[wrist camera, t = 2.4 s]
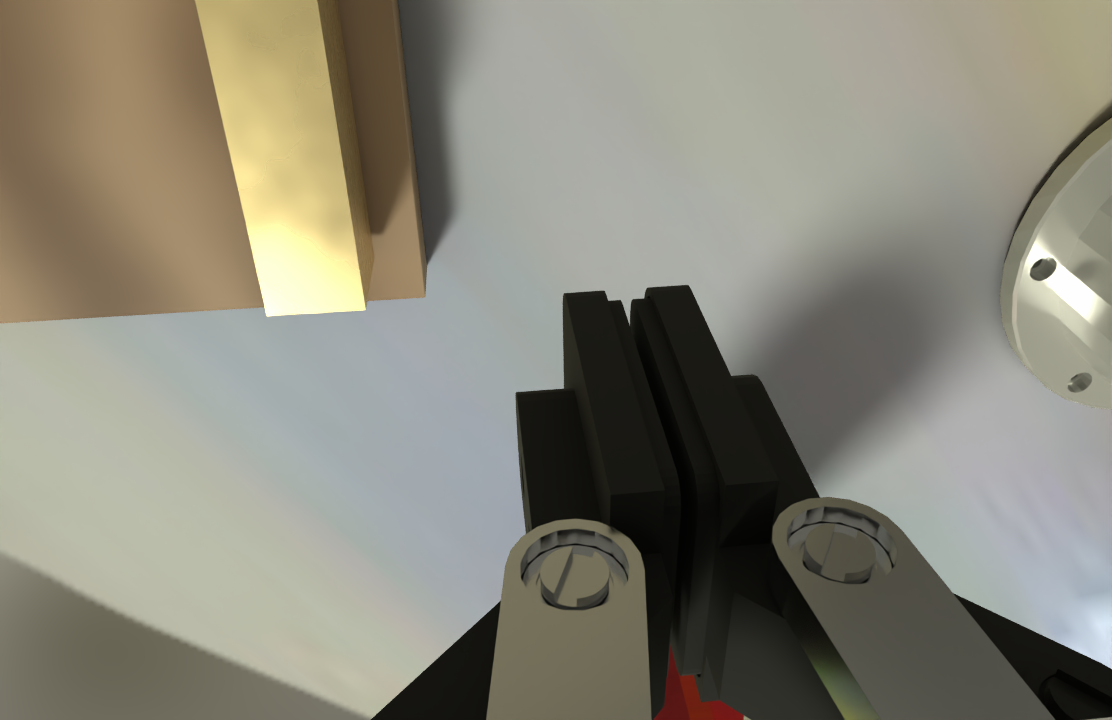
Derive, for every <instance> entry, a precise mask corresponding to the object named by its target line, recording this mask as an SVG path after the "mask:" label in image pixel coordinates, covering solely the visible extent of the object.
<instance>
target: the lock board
mask: <svg viewBox="0 0 1112 720" xmlns="http://www.w3.org/2000/svg"><path fill="white" fill-rule="evenodd" d="M337 1H338V8H339V15H340V22H341V28H342V35H343V42H344V49H345V56H346V63H347V70H348V77H349V84H350V91H351V98H352V104H353V111H354V118H355V125H356V132H357V139H358V146H359V153H360V160H361V167H362V174H363V180H364V187H365V194H366V201H367V208H368V215H369V222H370V229H371V236H372V243H373V250H374V256H375V257H374V263H373V269H372V275H371V281H370V287H369V293H368V299H367V301H374V300H391V299H407V298H423V297H425V291H426V274H427V262H426V253H425V244H424V235H423V226H422V217H421V208H420V198H419V189H418V180H417V171H416V162H415V153H414V144H413V135H412V126H411V116H410V107H409V98H408V89H407V80H406V71H405V62H404V53H403V43H402V34H401V25H400V16H399V7H398V0H337ZM259 307H265V306H264V301H263V297H262V293H261V288H260V284H259V279H258V275H257V271H256V266H255V262H254V257H253V253H252V249H251V244H250V240H249V236H248V231H247V227H246V222H245V218H244V214H243V209H242V205H241V200H240V196H239V192H238V187H237V183H236V178H235V174H234V170H233V165H232V161H231V156H230V152H229V148H228V143H227V139H226V134H225V130H224V126H223V121H222V117H221V112H220V108H219V104H218V99H217V95H216V90H215V86H214V82H213V77H212V73H211V69H210V64H209V60H208V55H207V51H206V47H205V42H204V38H203V33H202V29H201V25H200V20H199V16H198V11H197V7H196V3H195V0H0V323H13V322H30V321H46V320H63V319H79V318H95V317H112V316H128V315H145V314H161V313H177V312H194V311H210V310H227V309H243V308H259Z"/></svg>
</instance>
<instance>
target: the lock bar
mask: <svg viewBox="0 0 1112 720" xmlns="http://www.w3.org/2000/svg"><path fill="white" fill-rule="evenodd" d="M195 3H196V7H197V11H198V16H199V20H200V25H201V29H202V33H203V38H204V42H205V47H206V51H207V55H208V60H209V64H210V69H211V73H212V77H213V82H214V86H215V90H216V95H217V99H218V104H219V108H220V112H221V117H222V121H223V126H224V130H225V134H226V139H227V143H228V148H229V152H230V156H231V161H232V165H233V170H234V174H235V178H236V183H237V187H238V192H239V196H240V200H241V205H242V209H243V214H244V218H245V222H246V227H247V231H248V236H249V240H250V244H251V249H252V253H253V257H254V262H255V266H256V271H257V275H258V279H259V284H260V288H261V293H262V297H263V301H264V306H265V310H266V315H267V316H277V315H293V314H309V313H325V312H342V311H358V310H366V306H367V299H368V293H369V287H370V281H371V275H372V269H373V263H374V257H375V256H374V250H373V243H372V236H371V229H370V222H369V215H368V208H367V201H366V194H365V187H364V180H363V174H362V167H361V160H360V153H359V146H358V139H357V132H356V125H355V118H354V111H353V104H352V98H351V91H350V84H349V77H348V70H347V63H346V56H345V49H344V42H343V35H342V28H341V22H340V15H339V8H338V1H337V0H195Z"/></svg>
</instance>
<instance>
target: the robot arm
mask: <svg viewBox="0 0 1112 720" xmlns="http://www.w3.org/2000/svg"><path fill="white" fill-rule="evenodd" d="M1000 304H1001V314H1002V324H1003V327H1004V329H1005V332H1006V335H1007V338H1008V340H1009V343H1010V346H1011V348H1012V349H1013V351H1014V352H1015V353H1016V355H1017V356H1018V357H1019V359H1020V360H1021V362H1022V363H1023V364H1024V366H1025V367H1026V368H1027V369H1028V370H1029V371H1030V372H1031V373H1032V374H1033V375H1034V376H1035V377H1036V378H1037V379H1038V380H1039V381H1040V382H1041V383H1042V384H1043V385H1044V386H1045V387H1046V388H1048V389H1049V390H1051V391H1053V392H1054V393H1056V394H1057V395H1059V396H1061V397H1062V398H1064V399H1066V400H1069V401H1072V402H1076V403H1079V404H1082V405H1085V406H1089V407H1092V408H1100V409H1110V410H1112V118H1110V119H1109V120H1108V121H1107V122H1105V123H1104V124H1103V125H1101V126H1100V127H1099V128H1098V129H1096V130H1095V131H1094V132H1092V133H1091V134H1090V135H1089V136H1087V137H1086V138H1085V139H1084V140H1083V141H1082V142H1081V143H1080V145H1079V146H1078V147H1077V148H1076V149H1075V150H1074V151H1073V152H1072V153H1071V154H1070V155H1069V156H1068V157H1067V158H1066V159H1065V160H1064V161H1063V162H1062V163H1061V164H1060V165H1059V166H1058V167H1057V168H1056V169H1055V171H1054V172H1053V173H1052V175H1051V176H1050V177H1049V179H1048V180H1047V182H1046V183H1045V184H1044V186H1043V187H1042V188H1041V190H1040V191H1039V192H1038V194H1037V195H1036V196H1035V198H1034V199H1033V200H1032V202H1031V204H1030V206H1029V208H1028V210H1027V212H1026V213H1025V215H1024V217H1023V219H1022V221H1021V223H1020V225H1019V226H1018V228H1017V230H1016V232H1015V234H1014V237H1013V240H1012V243H1011V246H1010V249H1009V252H1008V255H1007V258H1006V261H1005V264H1004V268H1003V276H1002V283H1001V291H1000ZM563 349H564V389H554V390H540V391H527V392H516V416H517V435H518V452H519V466H520V478H521V490H522V500H523V510H524V519H525V529H526V535H524V536H522V537H521V538H520V540H519V541H518V542H517V543H516V544H515V546H514V547H513V548H512V549H511V551H510V554H509V556H508V559H507V562H506V565H505V572H504V580H503V588H502V596H501V601H500V602H499V603H498V604H497V605H496V606H495V607H494V608H492V609H491V610H490V611H489V612H488V613H487V614H486V615H485V616H484V617H483V618H481V619H480V620H479V621H478V622H477V623H476V624H475V625H474V626H473V627H472V628H471V629H469V630H468V631H467V632H466V633H465V634H464V635H463V636H462V637H461V638H460V639H458V640H457V641H456V642H455V643H454V644H453V645H452V646H451V647H450V648H449V649H448V650H446V651H445V652H444V653H443V654H442V655H441V656H440V657H439V658H438V659H437V660H436V661H434V662H433V663H432V664H431V665H430V666H429V667H428V668H427V669H426V670H425V671H423V672H422V673H421V674H420V675H419V676H418V677H417V678H416V679H415V680H414V681H413V682H411V683H410V684H409V685H408V686H407V687H406V688H405V689H404V690H403V691H402V692H401V693H399V694H398V695H397V696H396V697H395V698H394V699H393V700H392V701H391V702H390V703H388V704H387V705H386V706H385V707H384V708H383V709H382V710H381V711H380V712H379V713H378V714H376V715H375V716H374V717H373V718H372V719H371V720H653V719H654V718H655V717H656V716H657V714H658V713H659V712H660V711H661V709H662V708H663V707H664V705H665V692H666V679H667V676H668V670H669V657H670V645H671V648H672V652H673V656H674V660H675V664H676V667H677V671H678V673H679V675H680V676H686V675H694V678H695V682H696V686H697V689H698V693H699V697H700V700H701V702H709V701H719V700H720V701H721V702H723V703H725V704H726V705H728V706H730V707H731V708H733V709H734V710H736V711H738V712H739V713H741V714H742V715H743V720H1112V669H1110V668H1109V667H1107V666H1105V665H1103V664H1102V663H1100V662H1097V661H1095V660H1093V659H1091V658H1089V657H1087V656H1085V655H1083V654H1080V653H1078V652H1076V651H1074V650H1072V649H1070V648H1068V647H1066V646H1064V645H1061V644H1059V643H1057V642H1055V641H1053V640H1051V639H1049V638H1047V637H1044V636H1042V635H1040V634H1038V633H1036V632H1034V631H1032V630H1030V629H1028V628H1025V627H1023V626H1021V625H1019V624H1017V623H1015V622H1013V621H1011V620H1009V619H1006V618H1004V617H1002V616H1000V615H998V614H996V613H994V612H992V611H989V610H987V609H985V608H983V607H981V606H979V605H977V604H975V603H973V602H970V601H968V600H966V599H964V598H962V597H960V596H958V595H956V594H953V593H952V592H951V590H950V589H949V588H948V587H947V585H946V584H945V583H944V582H943V580H942V579H941V578H940V577H939V575H938V574H937V573H936V572H935V571H934V569H933V568H932V567H931V566H930V564H929V563H928V562H927V561H926V559H925V558H924V557H923V556H922V555H921V553H920V552H919V551H918V550H917V548H916V547H915V546H914V545H913V543H912V542H911V541H910V540H909V538H908V537H907V536H906V535H905V534H904V532H903V531H902V530H901V529H900V528H899V527H898V526H897V525H896V524H895V523H894V522H892V521H891V520H890V519H889V518H888V517H887V516H885V515H883V514H882V513H880V512H878V511H876V510H875V509H873V508H871V507H869V506H866V505H863V504H860V503H857V502H854V501H852V500H847V499H840V498H832V497H823V498H820V497H819V495H818V493H817V491H816V489H815V487H814V485H813V483H812V481H811V479H810V477H809V475H808V473H807V471H806V469H805V467H804V465H803V463H802V461H801V459H800V457H799V455H798V453H797V451H796V449H795V447H794V445H793V443H792V441H791V439H790V437H789V435H788V433H787V431H786V429H785V428H784V426H783V424H782V422H781V420H780V418H779V416H778V414H777V412H776V410H775V408H774V406H773V404H772V402H771V400H770V398H769V396H768V394H767V392H766V390H765V388H764V386H763V384H762V382H761V381H760V379H759V378H758V377H757V376H755V375H740V376H731V375H730V373H729V371H728V368H727V366H726V364H725V362H724V360H723V358H722V355H721V353H720V351H719V349H718V347H717V345H716V342H715V340H714V338H713V336H712V334H711V332H710V329H709V327H708V325H707V323H706V321H705V319H704V316H703V314H702V312H701V310H700V308H699V306H698V303H697V301H696V299H695V297H694V295H693V293H692V290H691V288H690V287H689V286H688V285H680V286H666V287H651V288H647V289H646V292H645V298H644V299H633V300H632V302H631V311H630V326H629V323H628V319H627V316H626V313H625V310H624V307H623V304H622V302H621V300H615V301H608V299H607V296H606V293H605V291H591V292H576V293H564V295H563Z"/></svg>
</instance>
